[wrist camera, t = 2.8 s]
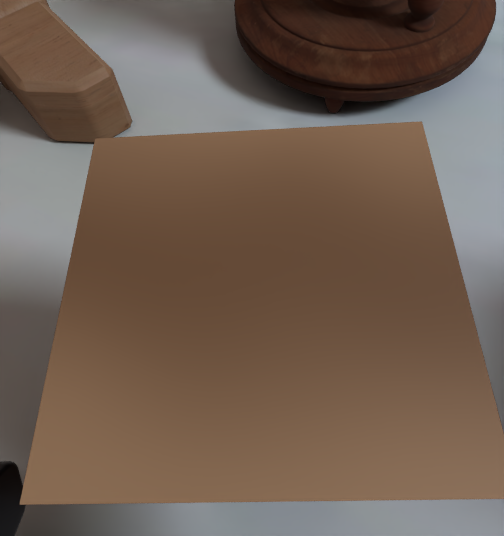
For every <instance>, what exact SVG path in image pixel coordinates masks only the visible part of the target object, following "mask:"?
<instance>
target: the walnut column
mask: <svg viewBox="0 0 504 536" xmlns="http://www.w3.org/2000/svg"><path fill="white" fill-rule="evenodd" d="M441 499H504V433H503V429H502V425H501V421H500V417H499V414H498V410H497V406H496V402H495V398H494V394H493V391H492V387H491V383H490V379H489V375H488V372H487V368H486V364H485V360H484V356H483V353H482V349H481V345H480V341H479V337H478V333H477V330H476V326H475V322H474V318H473V314H472V311H471V307H470V303H469V299H468V295H467V292H466V288H465V284H464V280H463V276H462V273H461V269H460V265H459V261H458V257H457V253H456V250H455V246H454V242H453V238H452V234H451V231H450V227H449V223H448V219H447V215H446V212H445V208H444V204H443V200H442V196H441V193H440V189H439V185H438V181H437V177H436V173H435V170H434V166H433V162H432V158H431V154H430V151H429V147H428V143H427V139H426V135H425V132H424V128H423V124H422V122H405V123H385V124H366V125H347V126H328V127H309V128H289V129H270V130H251V131H232V132H213V133H193V134H174V135H155V136H136V137H117V138H97V139H95V142H94V146H93V151H92V156H91V161H90V166H89V171H88V175H87V180H86V185H85V190H84V195H83V200H82V205H81V209H80V214H79V219H78V224H77V229H76V234H75V238H74V243H73V248H72V253H71V258H70V263H69V267H68V272H67V277H66V282H65V287H64V292H63V296H62V301H61V306H60V311H59V316H58V321H57V325H56V330H55V335H54V340H53V345H52V350H51V354H50V359H49V364H48V369H47V374H46V379H45V383H44V388H43V393H42V398H41V403H40V408H39V412H38V417H37V422H36V427H35V432H34V437H33V441H32V446H31V451H30V456H29V461H28V466H27V470H26V475H25V480H24V485H23V490H22V495H21V499H20V504H19V505H31V504H113V503H195V502H277V501H359V500H441Z"/></svg>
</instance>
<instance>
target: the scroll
mask: <svg viewBox="0 0 504 536" xmlns="http://www.w3.org/2000/svg"><path fill="white" fill-rule="evenodd" d="M234 6H235V17H236V29H237V34H238V38H239V40H240V43H241V45H242V47H243V49H244V50H245V52H246V53H247V55H248V56H249V57H250V59H251V60H252V61H253V62H254V63H255V64H256V65H257V66H258V67H259V68H261V69H262V70H263V71H264V72H265V73H267V74H268V75H270V76H271V77H273V78H274V79H276V80H278V81H280V82H282V83H283V84H285V85H288V86H290V87H292V88H294V89H297V90H300V91H303V92H305V93H309V94H312V95H316V96H320V97H325V104H326V106H327V108H328V111H329V112H331V113H336V112H338V110H339V109H340V108H341V106H342V105H343V103H344V101H360V102H366V101H385V100H393V99H400V98H405V97H409V96H413V95H417V94H420V93H423V92H426V91H429V90H432V89H434V88H437V87H439V86H441V85H443V84H445V83H447V82H449V81H450V80H452V79H454V78H455V77H457V76H458V75H460V74H461V73H462V72H463V71H464V70H466V69H467V68H468V67H469V66H470V65H471V64H472V63H473V62H474V61H475V59H476V58H477V57H478V55H479V54H480V52H481V51H482V49H483V47H484V45H485V43H486V40H487V38H488V35H489V33H490V31H491V29H492V26H493V24H494V21H495V15H496V2H495V0H235V4H234Z"/></svg>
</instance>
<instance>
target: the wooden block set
mask: <svg viewBox="0 0 504 536" xmlns="http://www.w3.org/2000/svg"><path fill="white" fill-rule="evenodd" d="M0 82H1V83H2V84H3V85H4V87H5V88H6V89H7V90H10V91H12V92H13V93H14V94H15V95H16V97H17V98H18V99H19V100H20V102H21V103H22V104H23V105H24V107H25V108H26V109H27V110H28V111H29V113H30V114H31V115H32V116H33V118H34V119H35V120H36V121H37V123H38V124H39V125H40V126H41V127H42V129H43V130H44V131H45V132H46V134H47V135H48V136H49V137H50V138H52V139H54V140H56V141H78V142H95V139H97V138H113V137H114V136H116V135H118V134H120V133H121V132H123V131H125V130H126V129H128V128H130V126H131V123H132V119H131V116H130V114H129V111H128V109H127V106H126V103H125V101H124V98H123V96H122V93H121V90H120V88H119V85H118V83H117V80H116V77H115V75H114V72H113V70H112V69H111V68H110V67H109V66H108V65H107V64H106V63H105V62H104V61H103V60H102V59H101V58H100V57H99V56H98V55H97V54H96V53H95V52H94V51H93V50H92V49H91V48H90V47H89V46H88V45H87V44H86V43H85V42H84V41H83V40H82V39H81V38H80V37H79V36H78V35H77V34H76V33H74V32H73V31H72V30H71V29H70V28H69V27H68V26H67V25H66V24H65V23H64V22H63V21H62V20H61V19H60V18H59V17H58V16H57V15H56V14H55V13H54V12H53V11H52V10H51V9H50V7H49V5H48V3H47V1H46V0H0Z"/></svg>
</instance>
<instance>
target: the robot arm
mask: <svg viewBox="0 0 504 536" xmlns="http://www.w3.org/2000/svg"><path fill="white" fill-rule="evenodd" d="M22 490H23V485H22V481H21V477H20V473H19V470H18V467H17V465H16V464H15V463H14V462H11V461H4V462H0V536H15V533H16V531H17V528H18V526H19V523H20V521H21V518H22V516H23V513H24V510H25V506H26V505H19V504H20V499H21V495H22Z"/></svg>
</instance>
